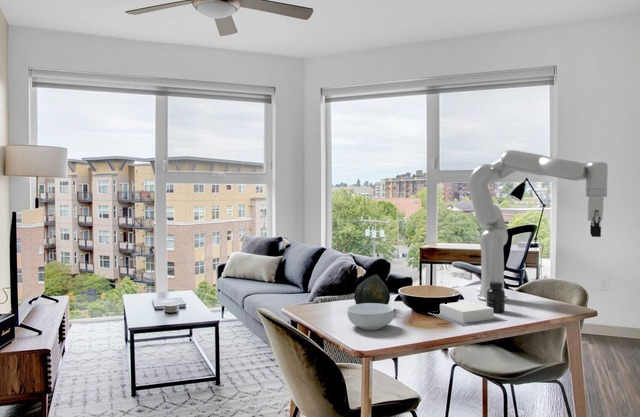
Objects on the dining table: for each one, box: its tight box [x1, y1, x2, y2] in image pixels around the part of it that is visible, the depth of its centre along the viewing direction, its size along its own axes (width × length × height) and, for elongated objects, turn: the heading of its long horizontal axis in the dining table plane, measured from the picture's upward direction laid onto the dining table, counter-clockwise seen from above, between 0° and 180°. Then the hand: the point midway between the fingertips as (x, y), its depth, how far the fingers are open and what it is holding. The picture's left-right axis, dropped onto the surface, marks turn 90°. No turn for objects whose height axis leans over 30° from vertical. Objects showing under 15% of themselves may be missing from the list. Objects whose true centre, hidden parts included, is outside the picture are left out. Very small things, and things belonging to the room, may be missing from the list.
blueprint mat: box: [428, 312, 508, 327], centre depth 195 cm, size 22×20×1 cm
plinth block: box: [439, 300, 495, 323], centre depth 194 cm, size 14×14×4 cm
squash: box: [353, 274, 391, 305], centre depth 209 cm, size 14×15×15 cm
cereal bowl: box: [346, 303, 395, 331], centre depth 183 cm, size 17×17×7 cm
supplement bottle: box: [486, 282, 506, 314], centre depth 202 cm, size 7×7×12 cm
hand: (595, 235), depth 205 cm, fingers open, 9 cm apart
